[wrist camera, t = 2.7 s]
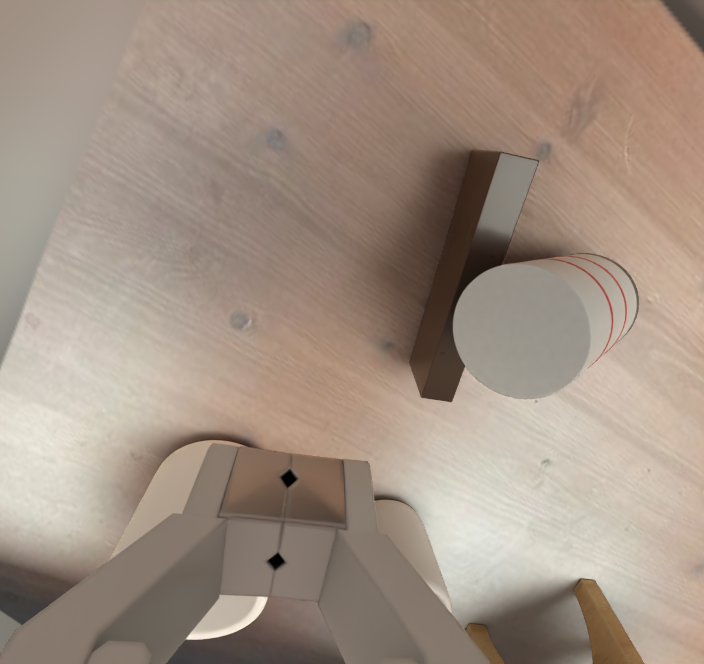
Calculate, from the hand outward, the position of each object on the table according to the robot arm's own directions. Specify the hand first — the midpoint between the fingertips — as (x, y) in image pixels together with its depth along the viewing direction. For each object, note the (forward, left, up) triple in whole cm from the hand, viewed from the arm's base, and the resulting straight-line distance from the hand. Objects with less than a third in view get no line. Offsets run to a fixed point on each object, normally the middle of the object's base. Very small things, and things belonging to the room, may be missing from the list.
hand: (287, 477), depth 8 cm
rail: (0, +9, -19) cm, 21 cm away
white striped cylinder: (0, +13, -19) cm, 23 cm away
